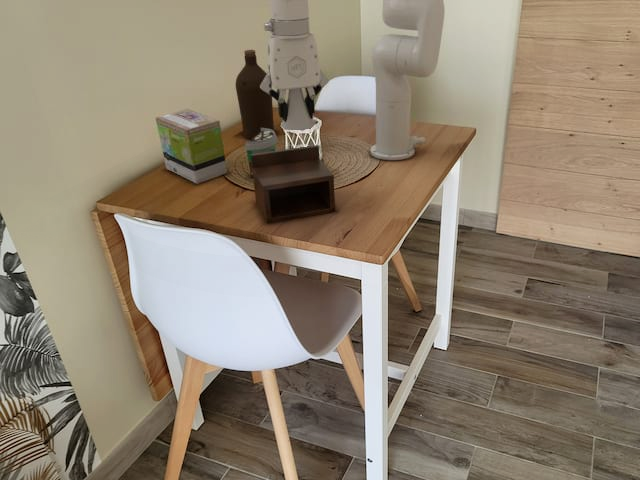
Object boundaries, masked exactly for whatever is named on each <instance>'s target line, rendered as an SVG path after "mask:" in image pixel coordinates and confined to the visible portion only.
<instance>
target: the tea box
mask: <svg viewBox="0 0 640 480" xmlns="http://www.w3.org/2000/svg"><path fill="white" fill-rule="evenodd" d="M155 121H156V127H157V130H158V135H159V140H160V145H161V149H162V154H163V157H164V158H163V159H164V163H165V168H166V170H168V171H170V172H172V173H174V174H176V175H179V176H181V177H182V178H185V179H186V180H188V181H190V182H192V183H194V184H196V185H198V184H201V183H204V182H207V181H209V180H212V179H215V178H218V177H220V176H223V175H225V174H227V173H228V168H227V162H226V155H225V154H226V153H225V148H224V142H223V141H224V140H223V135H222V129H221V124H220V123H221V122H220V121H221V120H219V119H216V118H213V117H211V116H207V115H205V114H202V113H201V112H200V113H199V112H197V111H195V110H191V109H188V108H185V109H182V110H179V111H175V112H171V113H168V114H164V115H161V116H156V117H155Z"/></svg>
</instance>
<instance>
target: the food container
mask: <svg viewBox="0 0 640 480" xmlns="http://www.w3.org/2000/svg"><path fill="white" fill-rule="evenodd" d="M278 142H279V140H278V137H277V134H276V132H275V130H274V131H273V130H271V129H267V128H261V132H260V133H259V134H258V135H256V136H254V137H253V139H250V141H245V144H244V146H245V147H244V148H245V151H246V156H247V160H248V167H249V172H250V177H251V178H252V179H253V173H252V165H251V157H250V154H256V153H264V152H271V151H277V148H276V145H277V143H278Z"/></svg>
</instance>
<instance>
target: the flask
mask: <svg viewBox="0 0 640 480" xmlns="http://www.w3.org/2000/svg"><path fill="white" fill-rule="evenodd" d="M302 89H303V88H296V89H288V93H287V101H286V103H287V110H288V116H287V121H286V122H284V120H283V119H282V121H281V125H280V126H281V127H282V129H284V130H285V131H289V130H305V129H311V128H312V127H313V126H314V125H315V124H314V122H313V119H311V118H310V116H309V111H308V108H307V105H306V102H305V97H304V93H303V90H302Z"/></svg>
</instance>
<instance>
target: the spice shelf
mask: <svg viewBox="0 0 640 480" xmlns="http://www.w3.org/2000/svg"><path fill="white" fill-rule="evenodd" d="M250 157H251V165H252V173H253V178H252V181H253V188H254V196H255V203H256V205H257V207H258V209H259V211H260V212H261V215H262V217H263V218H264V220H265V223H266V224H272V223H277V222H284V221H288V220H296V219H301V218H307V217H313V216H317V215H324V214H329V213H335V212H336V194H335V175H334V173H333V172H332V171H331V170H330V169H329V168H328V167H327V165H326V164H325V163H324V162H323V161H322V160H321V159H320V147H319V145H318V144H316V145H315V144H314V145H313V146H307V147H300V148H297V147H294V148H286V149H278V150H276V151H271V152H264V153H256V154H250Z"/></svg>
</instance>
